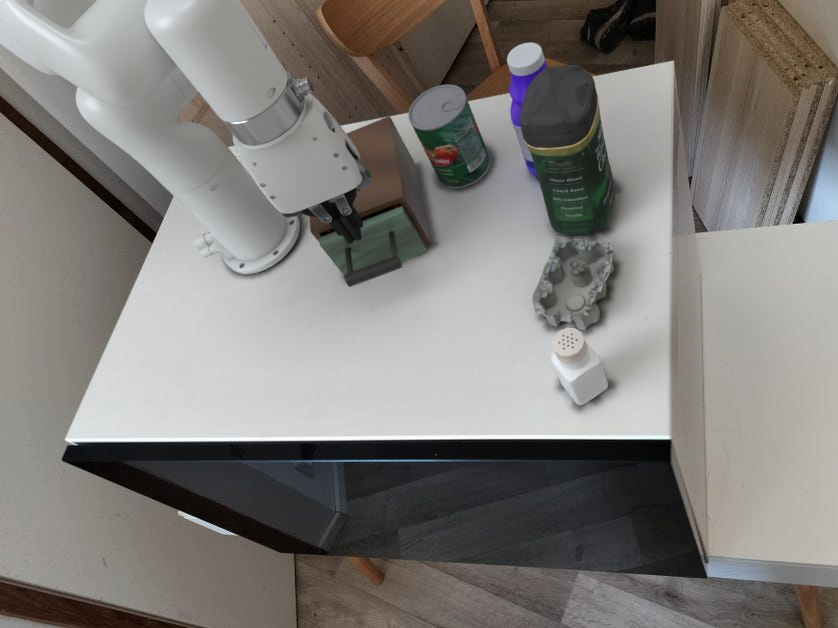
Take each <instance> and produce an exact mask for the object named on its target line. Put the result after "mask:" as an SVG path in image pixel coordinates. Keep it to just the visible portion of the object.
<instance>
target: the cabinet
mask: <svg viewBox="0 0 838 628" xmlns="http://www.w3.org/2000/svg"><path fill="white" fill-rule="evenodd" d="M345 133H346V132H345ZM346 134H347V135H348V137H349V138H350V139H351V141H352V142H353V144H354V145H355V147H356V148H357V150H358V152H359V155H360V160H359V161H358V162H359V163H360V164H361V165H362V166H364V167H365V168H366V169H367V170H368V171H369V172H370V173H371V178H372V184H371V185H370V186H368V187H367V188H365V189H364V190H362V191H361V192H358V193H357V195H356V198H355V200H354V203H353V206H354V208H355V209H356V211H357V212H358V214H359V215H360V216H361V217H364V216H366V215H369V214H372V213H374V212H377V211H379V210H382V209H385V208H387V207H390V206H392V205H395V204H398V203H401V205H402V206H403V208H404V210H405V211H406V213H407V215H408V216H409V218H410V220H411V221H412V223H413V225H414V226H415V228H416V230H417V231H418V233H419V235H420V236H421V238H422V240H423V241H424V243H425V245H426V248H428V247H430V246H432V245H433V243H432V237H431V233H430V226H429V222H428V217H427V211H426V206H425V200H424V196H423V191H422V185H421V180H420V175H419V170H418V167H417V164H416V162H415V161H414V159H413V157H412V155H411V153H410V151H409V150H408V147H407V145H406V143H405V142H404V140H403V138H402V136H401V134H400V132H399V131H398V129H397V127H396V125H395V123H394V121H393V119H392V117H391V116H390V115H388V116H386V117H383V118H381V119H379V120H376V121H373V122H371V123H368V124H366V125H364V126H361V127H359V128H357V129H354V130H351V131H349V132H347V133H346ZM346 146H347V145H346ZM329 200H330V201H331V203H332V202H335V200H334V198H331V199H329ZM309 227H310V229H309V230H310V233H311V235H312V236H313V237H314V238H315V239H316V241H317V242H318V243H319V238H320V237H323V236H325V235H328V234H327V232H326V231H327V230H330V229H332V226H331V225H330V224H329V223H324V222H322V221H321V220H320V219H319V218H316V217H311V216H309Z"/></svg>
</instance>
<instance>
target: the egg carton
mask: <svg viewBox="0 0 838 628" xmlns="http://www.w3.org/2000/svg"><path fill="white" fill-rule="evenodd" d="M553 243H554V244H553V246H552V249H551V253H550V256H549V257H548V259H547V262H546V263H545V264H544V267H543V270H542V273H541V276H540V278H539V281H538V284H537V285H536V287H535V289H534V291H533V294H532V304H533V308H534V312H535V314H537V315H542V316H543V317H545V318H546V320H547V322H548V324H549V325H550V326H553V327H555V328H556V327H558V326H559V325H560V323H562V322H566V323H572V321H574V323H575V326H576V329H577V330H580V331H581V330H582V331H586V330H587V329H588V327H589V326H591V325H592V324H595V323H597V322H599V320H600V318H601V314H600V313H601V310H600V309H599V306H598V304H597V301H598V300H601V299H603V298H604V299H605V298H606V294H607V280H608V278H609V277H610V275H612V274H613V272H614V271H615V265H614V264H613V257H614V256H615V251H614V244H613V243H612V242H608V243H607V244H605V243H602V242H599V241H598V240H587V239H582V238H578V237H574V238H569V237H566V236H561V235H557V236H556V237H555V240H554V242H553Z"/></svg>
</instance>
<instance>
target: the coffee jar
mask: <svg viewBox="0 0 838 628" xmlns="http://www.w3.org/2000/svg"><path fill="white" fill-rule="evenodd" d="M547 67H548V68H544V69H543V71H542V72H541V73H539V74H538V75H537V76H536V77H535V78H534V79H533V81H532V82H531V83H530V85H529V87H528V89H527V92H526V94H525V97H524V100H523V103H522V107H521V111H520V115H519V121H520V126H521V131H522V135H523V138H524V141H525V144H526V146H527V147H528V149H529V151H530V153H531V156H532V159H533V162H534V166H535V169H536V173H537V176H536V177H537V179H538V183H539V186H540V191H541V194H542V197H543V202H544V205H545V209H546V213H547V216H548V220H549V223H550V226H551V228H552V229H553V231H555V232H557V234H560V235H563V236H569V237H570V236H571V237H585V236H589V235H594V234H596V233H598V232H601V231H602V230H603V229H605V227H607V225H608V223H609V221H610V219H611V216H612V213H613V210H614V204H615V199H616V184H615V180H614V175H613V171H612V167H611V162H610V159H609V155H608V150H607V149H608V148H607V143H606V140H605V135H604V130H603V123H602V118H601V109H600V101H599V95H598V91H597V88H596V82H595V80H594V77H593V75H592V74H591V73H590V72H589V71H588V70H587V69H586V68H584V67H582V66H581V65H580V64H569V65H568V64H567V65H557V66H556V65H555V66H547Z"/></svg>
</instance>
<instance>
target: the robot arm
mask: <svg viewBox="0 0 838 628" xmlns="http://www.w3.org/2000/svg"><path fill="white" fill-rule="evenodd" d="M0 45H1V46H2V47H4V48H5V49H6V50H8V51H9V52H10V53H12V54H13V55H14V56H16V57H17V58H19V59H20V60H22V61H23V62H25V63H26V64H28V65H29V66H31V67H32V68H34V69H36V70H37V71H39V72H42V73H44V74H45V75H49V76H54V77H57V76H60V77H62V78H63V79H65V80H66V81H68V82H69V83H71V84H72V85H74V86H75V87H76V91H75V104H76V107H77V109H78V112H79V114H80V115H81V116H82V118H83V119H84V121H86V122H87V123H88V124H89V125H90V127H92V128H93V129H95V130H96V131H97V132H98V133H100V134H101V135H102V136H104V137H105V138H106V139H108V140H109V141H110V142H112V143H113V144H114V145H116V146H117V147H119V148H120V149H121V150H122V151H124V152H125V153H127V155H129V156H130V157H131V158H133V159H134V160H135V161H136V162H137V163H138V164H140V165H141V166H142V168H144V169H145V170H146V171H147V172H148V173H149V174H151V176H153V178H154V179H155V180H156V181H158V183H159V184H161V185H162V186H163V188H165V190H167V191H168V192H169V193H170V194H171V195H172V196H173V197H174V198H175V199H176V200H177V201H178V202H179V203H180V204H181V205H182V207H184V208H185V209H186V211H188V212H189V213H190V214H191V215H192V216H193V217H194V218H195V219H196V220H197V221H198V222H199V223H200V224H201V225H202V226H203V227H204V228H205V229H206V231H208V232H205V233H202V234H200V235H197V236H194V237H193V244H194V246H195V248H196V249H198V250H200V253H201V255H202V256H203V258H208V257H210V256H214V254H217V253H218V254H221V255H222V260H223V261H224V264H226V265H227V266H228V267H229V268H230V269H231V270H232V271H233V272H235V273H238V274H243V275H253V274H257V273H260V272H264V271H266V270H268V269H270V268H272V267H274V266H275V265H276V264H278V263H279V262H280V261H282V260H283V259H284V258H285V257H286V256H287V255H288V254H289V253H290V251H291V250H292V249H293V248H294V246H295V244H296V242H297V240H298V239H299V234H300V230H301V222H300V218H299V217H300V216H303V215H304V216H307V217H310V216H311V217H316V218H319V219H320V220H321V221H322V222H324V223H329V224H330V225H331V226H332V228H333V229H334V230H335V232H336V233H337V234H338V235H339V236H341V235H342V236H343V237H344V239H345V240H346V241H347V242H348V244H350V243H353V241H354V239H355V240H357V241H358V240H361V239H362V237H361V228H362V227H363V221H362V218H361V216H360V215H359V214H358V212H357V211H356V209H355V208H354V206H353V203H354V200H355V198H356V195H357V193H358V192H361V191H362V190H364V189H365V188H367V187H368V186H370V185H371V184H372V178H371V173H370V172H369V171H368V170H367V169H366V168H365V167H364V166H362V165H361V164H360V163H359V162H358V161H359V160H360V155H359V152H358V150H357V148H356V147H355V145H354V144H353V142H352V141H351V139H350V138H349V137H348V135H347V134H346V131H345V130H344V129H343V127H342V126H341V125H340V124H339V122H338V121H337V120H336V119H335V117H334V116H333V115H332V114H331V112H330V111H329V110H328V109H327V108H326V107H325V106H324V105H323V104H322V103H321V101H319V100H318V98H317V97H315V96H314V95H313V94H312V93H313V92H314V91H315V90H314V86H313V83H312V82H311V79H310V78H309V77H308V76H306V77H303V78H297V79H296V78H295V77H294V76H293V75H292V73H291V72H290V70H286V68H285V67H284V65H283V64H282V62H281V61H280V59H279V58H278V56H277V54H276V53H275V52H274V51H273V49H272V47H271V46H270V44H269V43H268V41H267V40H266V38H265V37H264V35H263V33H262V32H261V30H260V29H259V27H258V26H257V24H256V23H255V22H254V20H253V18H252V17H251V15H250V14H249V12H248V11H247V9H246V8H245V5H243V4H242V2H241V0H0ZM198 94H199V95H200V96H201V97H202V98H203V99H204V101H205V102H206V103H207V105H208V106H209V107H210V108H211V109H212V111H213V112H214V113H215V114H216V116H217V117H218V118H219V119H220V121H221V122H222V123H223V124H224V125H225V127H226V128H227V129H228V130H229V131H230V133H231V134H232V142H233V145H234V147H235V150H236V151H237V153H238V156H239V157H240V159H241V161H242V162H243V164H242V163H241V162H240V160H239V159H238V158H237V156H235V154H234V153H233V152H232V150H230V148H229V147H228V146H227V145H226V143H225V142H224V141H223V139H221V137H220V136H219V135H218V134H217V133H215V131H213V129H211V128H209V127H207V125H206V126H205V125H204V124H201V123H197V122H192V121H186V120H180V116H181V114H182V113H183V112H184V110H185V109H186V108H187V106H188V105H189V103H190V102H191V101H193V99H195V97H196V96H197V95H198ZM346 145H347V146H346ZM331 198H334V200H335V202H332V203H331V201H330V200H329V199H331Z"/></svg>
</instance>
